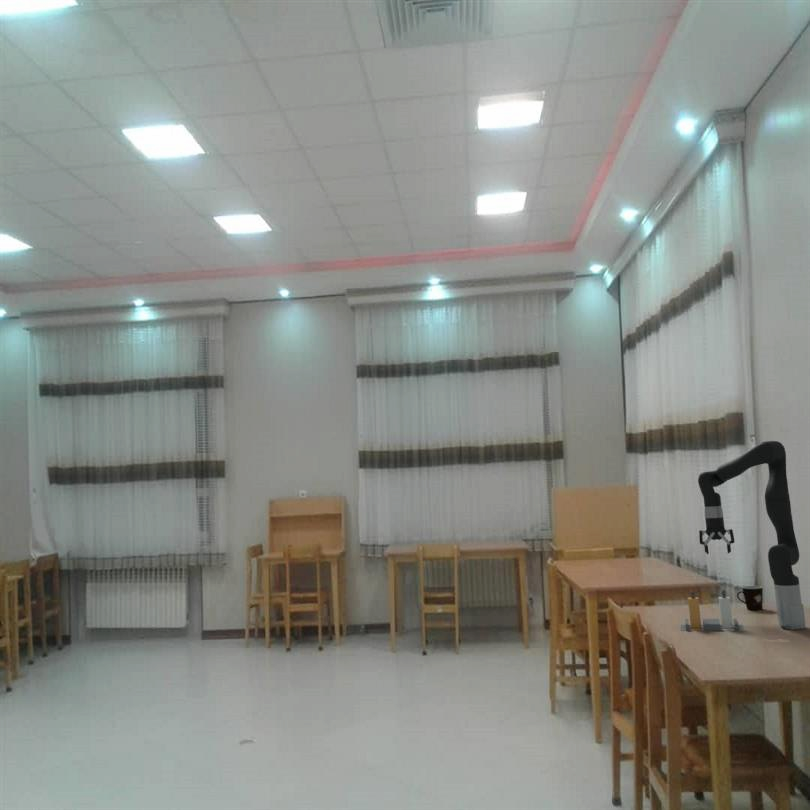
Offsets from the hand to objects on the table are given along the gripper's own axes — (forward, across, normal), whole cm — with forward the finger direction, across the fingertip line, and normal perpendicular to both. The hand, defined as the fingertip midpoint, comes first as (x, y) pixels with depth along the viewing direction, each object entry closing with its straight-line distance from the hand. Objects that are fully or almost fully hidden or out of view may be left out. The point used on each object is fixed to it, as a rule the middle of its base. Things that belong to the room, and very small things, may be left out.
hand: (718, 553), depth 333 cm
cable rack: (+28, -6, -24) cm, 38 cm away
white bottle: (+27, 0, -24) cm, 36 cm away
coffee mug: (+28, +12, +20) cm, 37 cm away
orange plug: (+27, -12, -24) cm, 38 cm away
